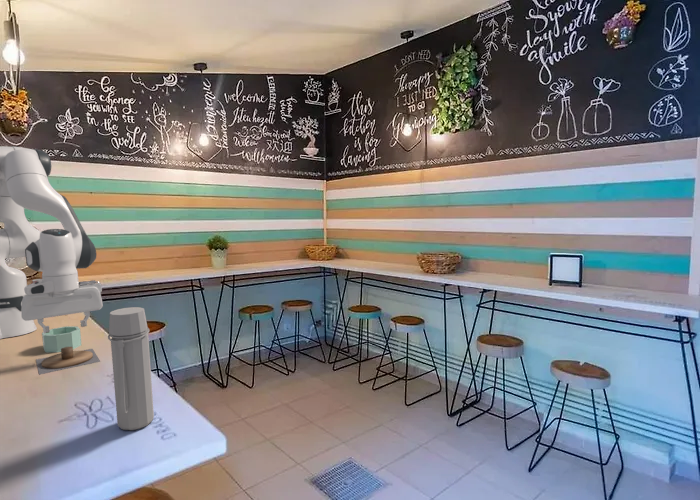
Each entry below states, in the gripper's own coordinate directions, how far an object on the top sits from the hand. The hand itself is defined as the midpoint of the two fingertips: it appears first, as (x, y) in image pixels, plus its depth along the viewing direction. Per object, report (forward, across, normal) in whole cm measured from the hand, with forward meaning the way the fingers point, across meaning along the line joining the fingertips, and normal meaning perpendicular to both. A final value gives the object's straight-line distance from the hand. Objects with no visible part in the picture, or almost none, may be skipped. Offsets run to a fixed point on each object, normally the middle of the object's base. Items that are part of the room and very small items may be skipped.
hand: (65, 329), depth 129 cm
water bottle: (+11, -6, +54) cm, 56 cm away
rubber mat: (+10, 0, -1) cm, 10 cm away
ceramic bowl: (+10, 0, -17) cm, 19 cm away
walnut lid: (+10, 0, 0) cm, 10 cm away
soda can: (+9, +1, -101) cm, 101 cm away
